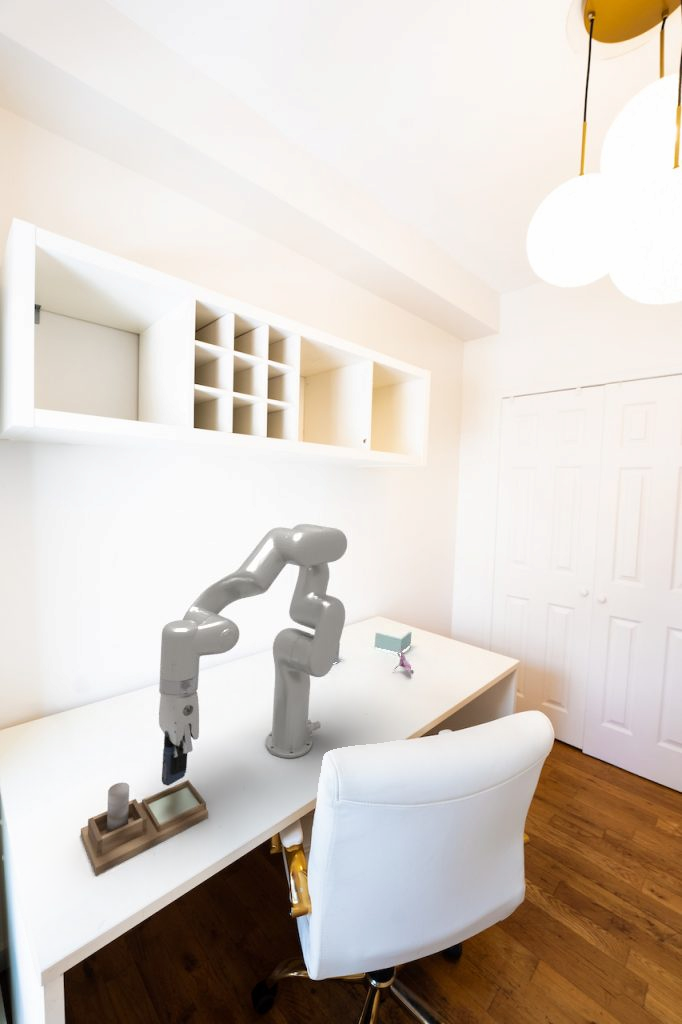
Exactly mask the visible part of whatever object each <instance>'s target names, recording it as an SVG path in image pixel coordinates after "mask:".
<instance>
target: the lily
mask: <svg viewBox="0 0 682 1024" xmlns="http://www.w3.org/2000/svg"><path fill="white" fill-rule="evenodd" d="M398 646H399V645H398ZM399 649H400V653H401V656H400V654H399V653H397V654H398V656H397V657H399V661H398V662H399V663H398V665H397V666H396V667H395V668H394V669H395V670H396V669H397V668H398V667H399V666H400V667H402V668H404V670H405V671H407V673H408V674H409V671H411V667H412V665H411V664H410V663H409V660H407V657H406V656H405V655H404V654H403V652H402V650H401V648H400V646H399Z"/></svg>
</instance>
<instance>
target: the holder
mask: <svg viewBox="0 0 682 1024" xmlns="http://www.w3.org/2000/svg"><path fill="white" fill-rule="evenodd" d="M208 819H209V810H208V809H207V801H205V799H204V798H203V797H202V795H201V794H200V793H199V792H198V790H197V789H196V788H195V786H194V785H193V784H192V783H191V782H190V780H189V779H187V780H184V781H182V782H180V783H178V784H176V785H173V786H171V787H168V788H166V789H164V790H162V791H160V792H156V793H155V794H153V795H150V796H148V797H145V798H143V799H141V802H138V801H137V798H135V799H132V800H130V785H129V784H128V783H127V782H118V783H115V784H113V785H112V786H110V787H109V788H108V790H107V810H106V811H104V812H102V813H100V814H97V815H95V816H92V817H90V818H88V820H87V825H85V826H84V827H81V828H80V838H81V841H82V843H83V847H84V848H85V851H86V853H87V856H88V859H89V862H90V864H91V867H92V870H93V872H94V875H95V876H99V875H100V874H103V873H105V872H106V871H108V870H111V869H112V868H114V867H116V866H118V865H119V864H121V863H124V862H126V861H127V860H129V859H131V858H133V857H135V856H138V855H139V854H141V853H143V852H146V851H147V850H149V849H151V848H153V847H155V846H157V845H159V844H161V843H162V842H164V841H166V840H168V839H170V838H173V837H175V836H176V835H178V834H180V833H183V832H184V831H186V830H188V829H190V828H192V827H194V826H195V825H197V824H199V823H201V822H204V821H205V820H208Z"/></svg>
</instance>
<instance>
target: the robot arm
mask: <svg viewBox="0 0 682 1024" xmlns="http://www.w3.org/2000/svg"><path fill="white" fill-rule="evenodd" d="M347 548H348V539H347V535H346V534H345V533H344V531H342V530H340V529H338V528H337V527H335V528H334V527H328V526H323V525H322V526H321V525H316V524H310V523H308V524H307V523H300V524H296V525H294V526H293V528H290V527H289V528H287V527H282V526H281V527H274V528H271V529H270V530H269V531H268V532H267V533H266V534H265V535H264V536H263V537H262V538H261V540H260V541H259V542H258V544H257V545H256V546H255V548H254V549H253V550H252V551H251V553H250V554H249V555H248V556H247V558H246V559H245V560H244V561H243V563H242V564H241V565H240V567H238V569H236V570H235V571H234V572H232V573H230V574H228V575H226V576H224V577H222V578H221V579H219V580H218V581H216V582H214V583H213V584H211V585H210V586H208V587H207V588H206V589H205V590H203V591H202V592H201V593H200V595H199V596H198V597H197V598H196V600H194V602H193V603H192V604H191V605H190V607H189V608H188V609H187V611H186V612H185V614H184V616H183V618H182V619H178V620H173V621H170V622H167V623H166V624H165V625H164V627H163V628H162V630H161V646H160V665H159V666H160V667H159V668H160V669H159V684H158V685H159V686H158V687H159V689H158V690H159V691H158V692H159V694H160V696H159V697H160V699H159V705H158V706H159V707H158V725H159V728H160V730H161V731H162V733H163V734H164V736H163V739H165V731H166V732H167V733H168V734H169V739H170V741H171V742H172V743H173V755H172V756H171V766H170V774H171V775H175V774H177V773H180V772H182V771H185V770H186V771H187V764H188V753H191V752H193V749H194V748H193V744H192V739H193V740H195V741H196V740H198V738H199V736H200V707H199V694H198V689H199V675H200V674H199V673H200V660H201V659H200V657H202V656H211V655H221V654H225V653H227V652H229V651H231V650H232V649H233V648H234V647H235V646H236V645H237V644H238V642H239V639H240V629H239V627H238V624H236V623H235V622H234V621H233V620H232V619H230V618H227V617H224V616H222V615H220V613H221V612H222V611H223V610H224V609H225V608H226V607H228V606H229V605H230V604H233V603H234V602H236V601H239V600H242V599H246V598H252V597H256V596H259V595H262V594H264V593H267V592H268V590H269V589H270V588H271V586H272V584H273V583H274V582H275V580H276V579H277V578H278V577H279V574H281V572H282V571H283V569H284V568H285V567H286V566H287V564H289V565H292V566H297V567H299V568H298V569H299V570H298V576H297V579H296V583H295V588H294V591H293V593H292V598H291V601H290V605H289V610H288V612H289V613H288V614H289V617H290V620H292V621H293V622H294V623H297V624H299V625H300V626H304V627H306V628H308V629H312V630H314V634H312V633H311V632H307V631H304V630H302V629H298V628H295V627H288V628H284V629H282V630H280V631H279V632H278V633H277V634H276V636H275V638H274V640H273V644H272V656H273V663H274V691H273V708H272V709H273V710H272V726H271V727H272V728H271V731H270V733H268V735H267V736H266V738H265V748H266V749H267V751H268V752H269V753H271V754H272V755H274V756H276V757H279V758H283V759H284V758H285V759H287V758H288V759H292V758H293V759H294V758H298V757H301V756H304V755H305V754H307V753H308V752H310V750H311V748H312V747H313V738H312V736H311V734H312V733H313V731H317V730H319V729H320V728H321V721H320V720H316V721H315V722H312V721H311V719H309V711H310V710H309V709H310V707H309V706H310V695H311V694H310V693H311V692H310V691H311V677H314V678H323V677H325V676H326V675H328V674H329V672H330V671H331V669H332V667H333V666H334V665H333V663H334V661H335V657H336V654H337V650H338V646H339V643H340V641H341V638H342V634H343V630H344V627H345V621H346V609H345V605H344V603H343V601H341V600H340V599H339V598H337V597H335V596H332V595H328V594H327V590H328V585H329V581H330V568H329V567H330V566H329V564H328V563H334V562H337V561H338V560H340V559H341V558H343V556H344V555H345V554H346V551H347ZM182 743H183V746H181V747H179V748H178V746H179V745H180V744H182Z"/></svg>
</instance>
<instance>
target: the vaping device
mask: <svg viewBox="0 0 682 1024" xmlns="http://www.w3.org/2000/svg"><path fill="white" fill-rule="evenodd" d="M164 735H165V739H164V738H163V739H164V740H163V749H162V751H163V752H162V769H161V771H162V772H161V773H162V774H161V782H162V784H163V785H164V786H170V785H172V784H174V783H175V782H177V781H179V780H181V779H183V778H184V777H185V776H186V773H187V769H186V770H185V771H182V772H180V773H177V774H175V775H171V774H170V766H171V756H172V755H173V743H172V742H171V741H170V739H169V734H168V733H167V732H166V731H165V734H164ZM181 746H183V743H182V744H180V745H179V746H178V748H179V747H181Z"/></svg>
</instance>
